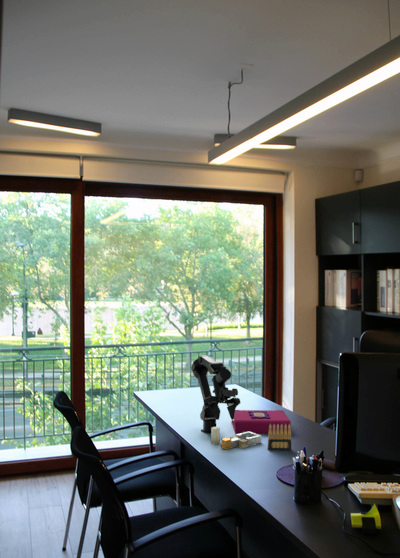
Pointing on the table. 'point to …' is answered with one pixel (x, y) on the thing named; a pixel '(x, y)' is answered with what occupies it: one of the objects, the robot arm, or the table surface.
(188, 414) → the table surface
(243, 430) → the book
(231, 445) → the pin
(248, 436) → the socket
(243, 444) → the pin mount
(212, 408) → the robot arm
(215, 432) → the cream tapered cylinder
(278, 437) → the ammunition clip
